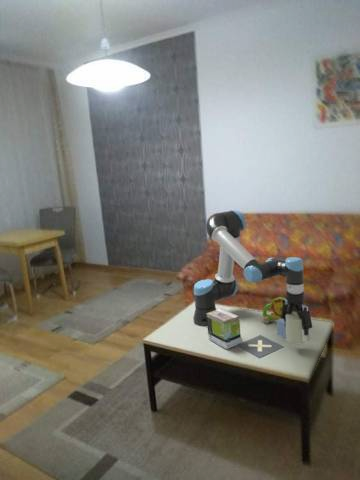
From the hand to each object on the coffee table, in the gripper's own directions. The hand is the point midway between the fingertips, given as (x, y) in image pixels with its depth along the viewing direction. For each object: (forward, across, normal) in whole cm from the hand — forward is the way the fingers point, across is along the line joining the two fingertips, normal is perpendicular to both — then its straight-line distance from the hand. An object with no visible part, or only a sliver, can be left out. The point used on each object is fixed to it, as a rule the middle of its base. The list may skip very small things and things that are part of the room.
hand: (296, 337), depth 168 cm
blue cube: (+7, -13, +9) cm, 17 cm away
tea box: (+7, -29, -20) cm, 36 cm away
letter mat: (+7, -14, -10) cm, 18 cm away
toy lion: (+7, -26, +15) cm, 31 cm away
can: (+1, 0, 0) cm, 1 cm away
